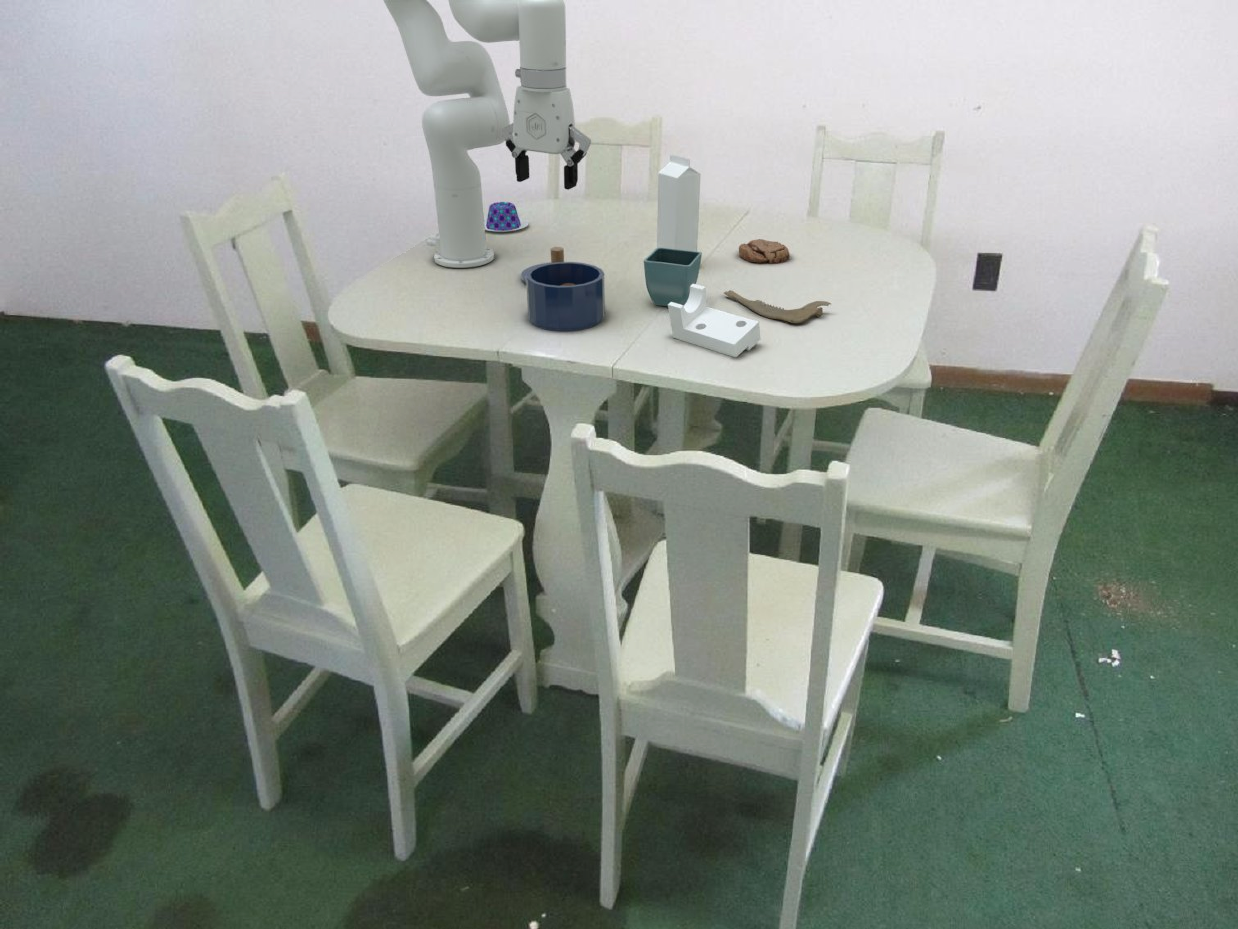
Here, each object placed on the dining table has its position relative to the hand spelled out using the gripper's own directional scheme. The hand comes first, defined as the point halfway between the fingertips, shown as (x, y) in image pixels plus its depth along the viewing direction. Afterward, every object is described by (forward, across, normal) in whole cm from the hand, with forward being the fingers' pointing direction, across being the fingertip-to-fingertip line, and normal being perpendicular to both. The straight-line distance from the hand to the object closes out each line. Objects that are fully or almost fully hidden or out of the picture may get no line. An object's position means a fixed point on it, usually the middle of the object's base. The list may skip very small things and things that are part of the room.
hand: (546, 183), depth 159 cm
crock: (+22, +7, -6) cm, 23 cm away
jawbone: (+21, +39, +17) cm, 47 cm away
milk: (+22, +13, +30) cm, 39 cm away
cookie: (+22, +27, +44) cm, 56 cm away
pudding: (+23, -35, +37) cm, 56 cm away
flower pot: (+22, +21, +10) cm, 31 cm away
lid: (+21, -5, +11) cm, 25 cm away
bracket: (+21, +35, -4) cm, 41 cm away
